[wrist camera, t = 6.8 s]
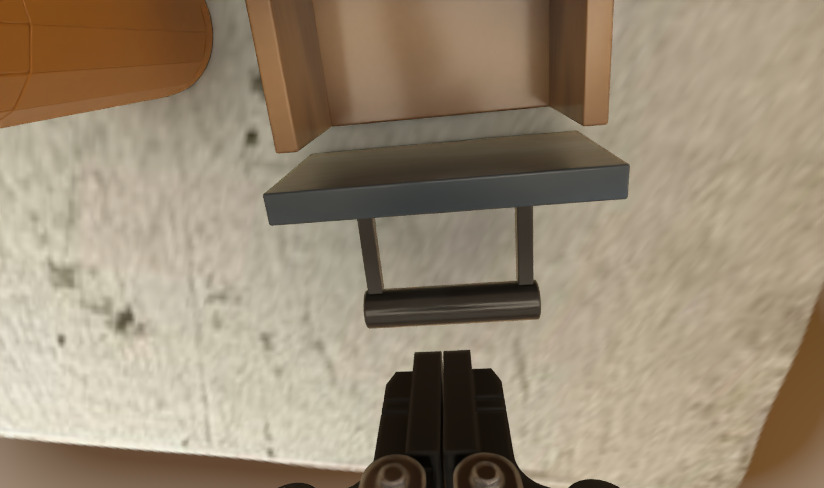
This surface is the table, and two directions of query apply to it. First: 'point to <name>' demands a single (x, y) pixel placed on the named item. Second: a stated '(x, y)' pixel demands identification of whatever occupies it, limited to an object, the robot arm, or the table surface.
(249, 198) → the table surface
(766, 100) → the table surface
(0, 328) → the table surface
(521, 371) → the table surface
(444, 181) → the drawer
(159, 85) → the jar
